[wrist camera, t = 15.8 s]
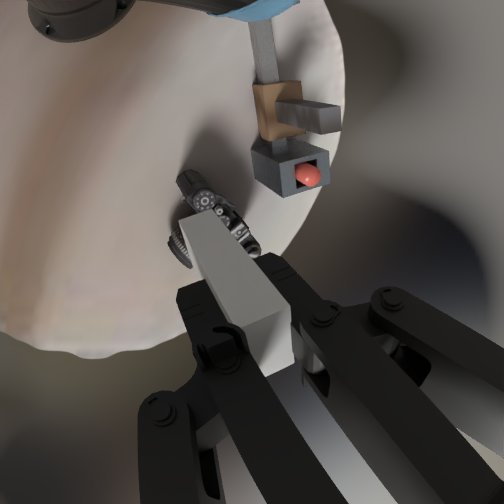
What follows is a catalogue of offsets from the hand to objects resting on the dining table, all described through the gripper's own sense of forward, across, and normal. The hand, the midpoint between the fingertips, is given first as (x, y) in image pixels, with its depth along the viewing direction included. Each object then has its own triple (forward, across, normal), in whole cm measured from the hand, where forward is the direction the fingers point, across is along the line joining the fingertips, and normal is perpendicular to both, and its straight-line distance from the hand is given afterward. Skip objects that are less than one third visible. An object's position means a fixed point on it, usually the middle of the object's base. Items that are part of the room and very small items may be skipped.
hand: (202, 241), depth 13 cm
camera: (+31, +4, -14) cm, 34 cm away
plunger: (+24, +19, -8) cm, 32 cm away
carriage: (+30, +19, 0) cm, 36 cm away
